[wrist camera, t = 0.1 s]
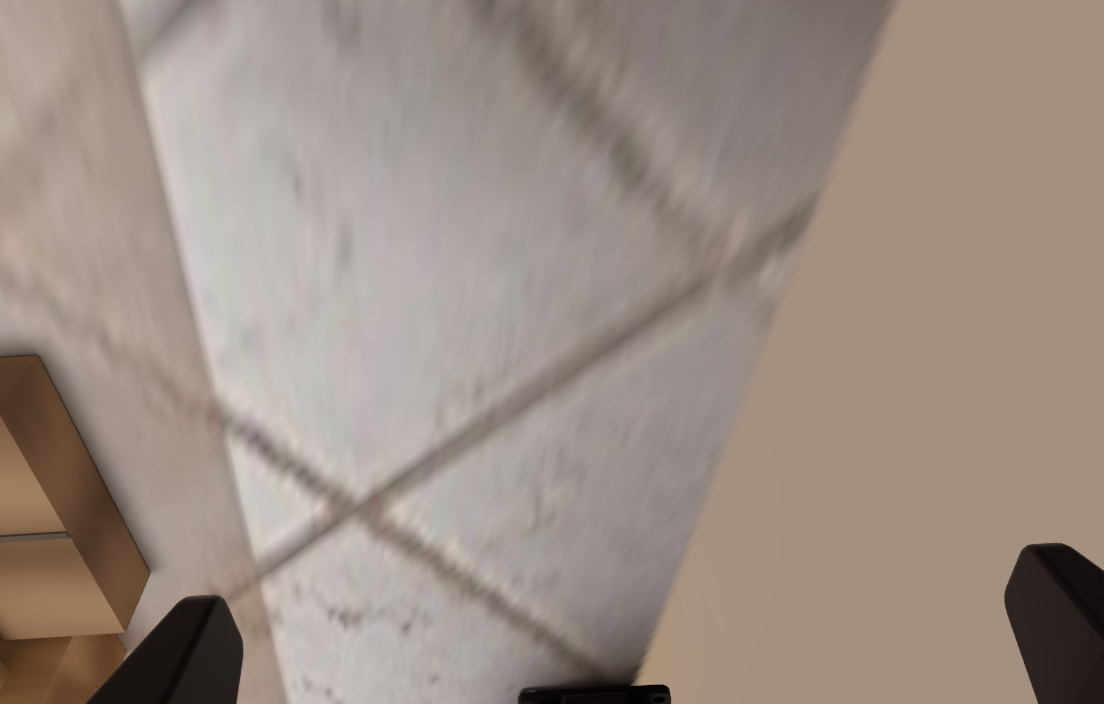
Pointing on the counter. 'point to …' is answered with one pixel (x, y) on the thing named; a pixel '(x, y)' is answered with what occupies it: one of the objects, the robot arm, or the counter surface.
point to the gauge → (57, 668)
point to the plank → (57, 521)
